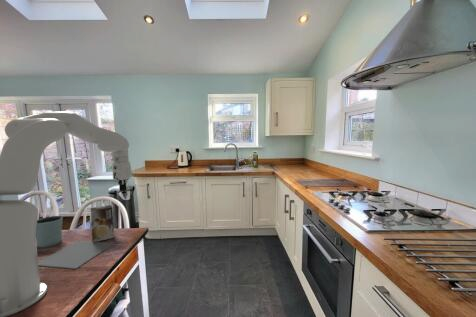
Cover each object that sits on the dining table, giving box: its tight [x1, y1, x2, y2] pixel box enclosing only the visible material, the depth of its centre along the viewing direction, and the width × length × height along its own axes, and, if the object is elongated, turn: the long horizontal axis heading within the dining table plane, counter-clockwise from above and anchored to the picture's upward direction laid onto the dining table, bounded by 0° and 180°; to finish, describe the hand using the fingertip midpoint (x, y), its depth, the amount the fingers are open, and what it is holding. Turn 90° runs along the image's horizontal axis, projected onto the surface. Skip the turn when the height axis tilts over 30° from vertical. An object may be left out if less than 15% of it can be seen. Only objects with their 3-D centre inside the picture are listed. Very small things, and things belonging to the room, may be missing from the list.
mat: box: [38, 240, 115, 270], centre depth 84 cm, size 19×20×1 cm
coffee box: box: [90, 204, 115, 243], centre depth 97 cm, size 9×6×16 cm
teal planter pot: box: [36, 215, 64, 248], centre depth 94 cm, size 10×10×12 cm
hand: (123, 190), depth 112 cm, fingers closed
